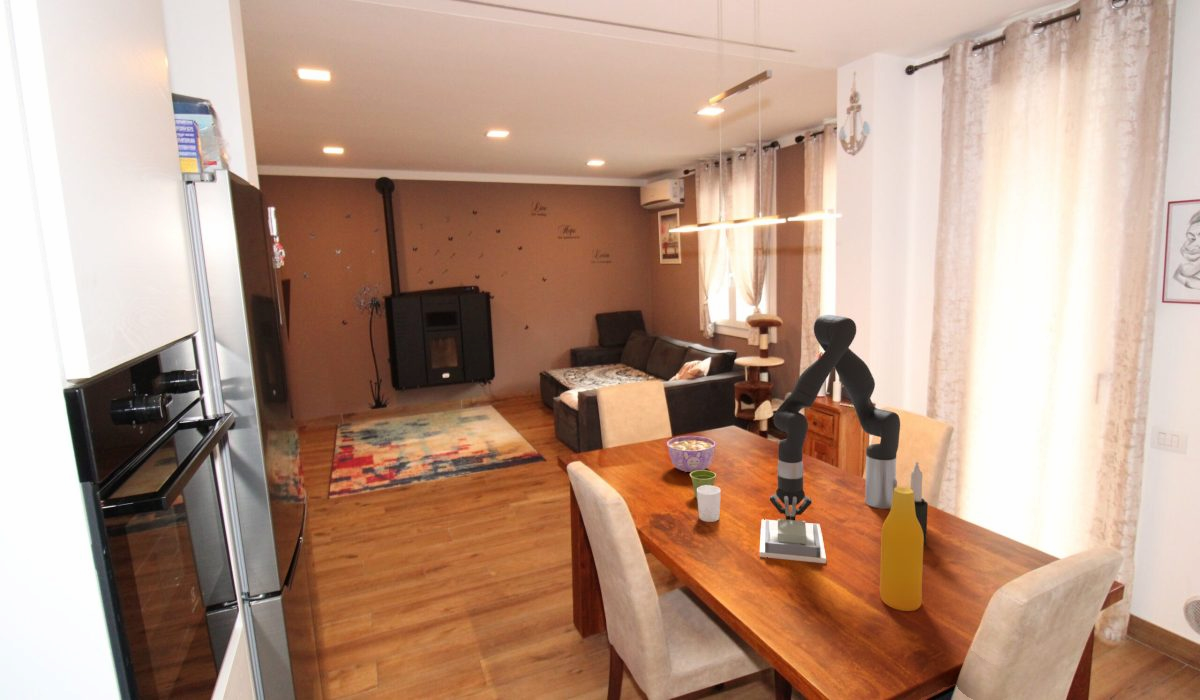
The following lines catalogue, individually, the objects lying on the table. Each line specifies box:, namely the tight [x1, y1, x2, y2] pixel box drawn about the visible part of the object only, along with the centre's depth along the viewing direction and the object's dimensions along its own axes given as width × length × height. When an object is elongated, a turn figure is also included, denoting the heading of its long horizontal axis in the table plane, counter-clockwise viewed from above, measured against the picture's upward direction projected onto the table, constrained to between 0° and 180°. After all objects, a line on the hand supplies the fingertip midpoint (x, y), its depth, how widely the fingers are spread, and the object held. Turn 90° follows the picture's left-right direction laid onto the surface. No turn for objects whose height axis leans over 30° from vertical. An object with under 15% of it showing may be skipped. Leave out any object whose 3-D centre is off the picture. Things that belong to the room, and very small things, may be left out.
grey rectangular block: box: [777, 518, 806, 545], centre depth 172 cm, size 8×10×4 cm
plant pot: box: [689, 469, 717, 499], centre depth 208 cm, size 9×9×9 cm
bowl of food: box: [666, 435, 716, 473], centre depth 236 cm, size 20×20×12 cm
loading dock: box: [759, 518, 827, 564], centre depth 174 cm, size 18×25×6 cm
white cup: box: [696, 485, 722, 523], centre depth 191 cm, size 8×8×10 cm
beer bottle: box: [879, 486, 924, 612], centre depth 139 cm, size 9×9×29 cm
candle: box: [909, 461, 929, 546], centre depth 167 cm, size 5×5×25 cm
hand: (790, 525), depth 178 cm, fingers closed
